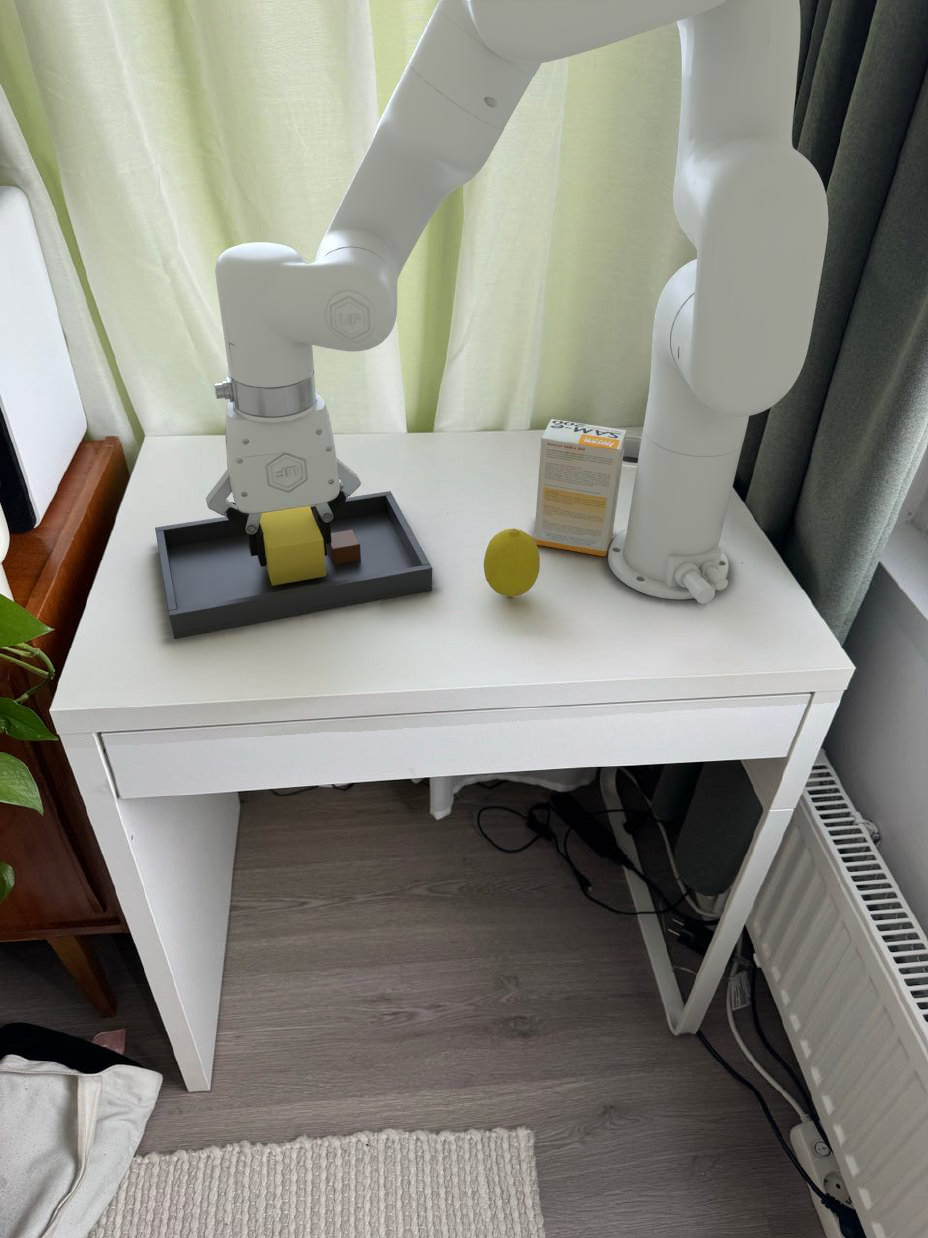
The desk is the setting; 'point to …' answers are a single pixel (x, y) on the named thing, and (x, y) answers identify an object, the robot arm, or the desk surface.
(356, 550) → the brown block
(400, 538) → the pan
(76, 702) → the desk surface
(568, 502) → the supplement box
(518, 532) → the lemon
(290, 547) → the sponge
